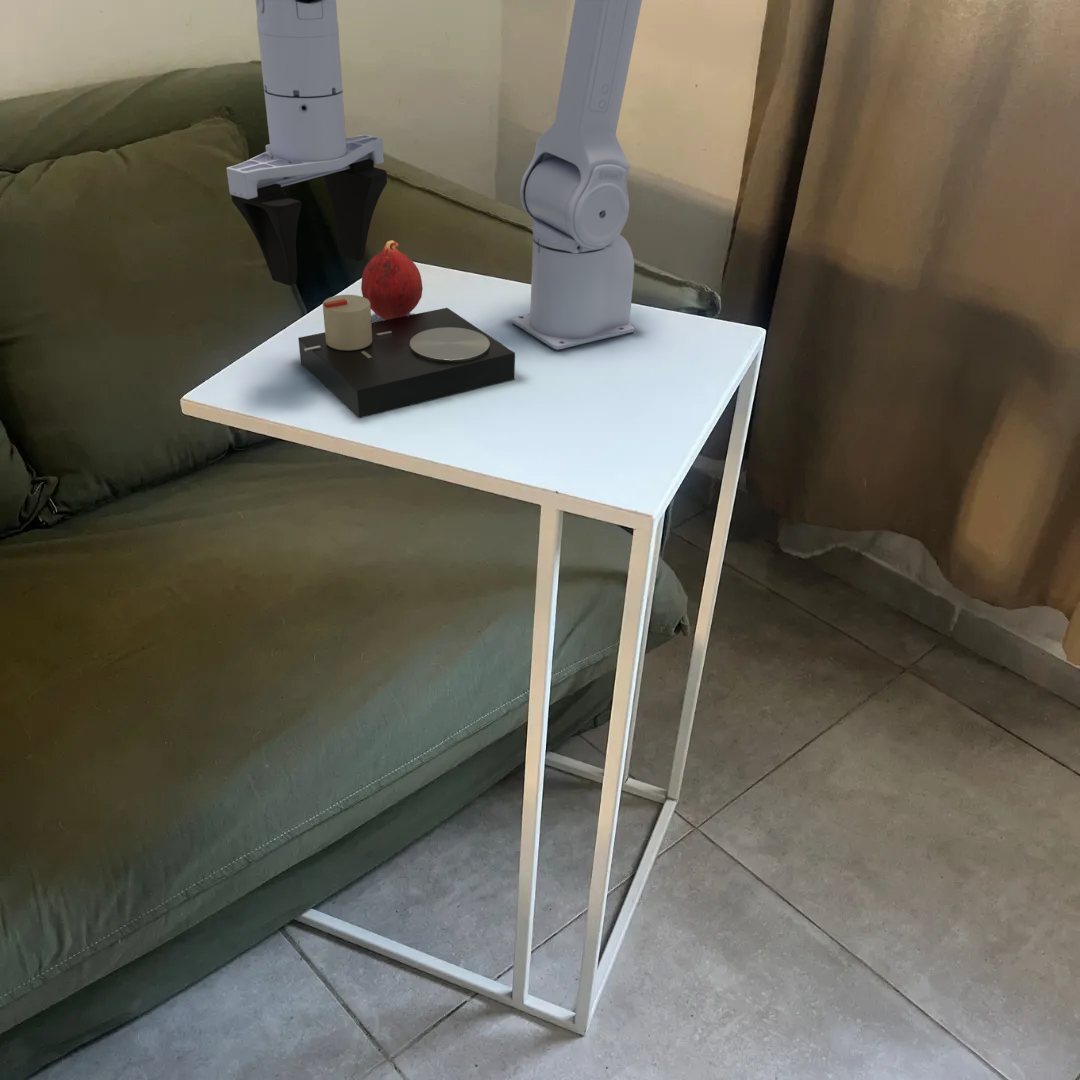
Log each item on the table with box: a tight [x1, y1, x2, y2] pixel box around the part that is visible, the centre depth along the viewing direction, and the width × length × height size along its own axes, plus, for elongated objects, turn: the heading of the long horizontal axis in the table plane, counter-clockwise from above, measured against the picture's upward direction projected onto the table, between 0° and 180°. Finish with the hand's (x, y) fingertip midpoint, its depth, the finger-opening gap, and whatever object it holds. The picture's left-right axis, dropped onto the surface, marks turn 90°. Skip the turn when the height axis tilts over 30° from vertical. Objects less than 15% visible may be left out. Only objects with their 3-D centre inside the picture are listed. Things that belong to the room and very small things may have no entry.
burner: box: [410, 327, 490, 363], centre depth 89 cm, size 7×7×1 cm
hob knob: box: [322, 294, 372, 350], centre depth 87 cm, size 4×4×4 cm
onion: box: [360, 239, 424, 320], centre depth 97 cm, size 6×6×8 cm
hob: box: [297, 307, 516, 418], centre depth 89 cm, size 16×13×3 cm
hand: (319, 269), depth 83 cm, fingers open, 7 cm apart
